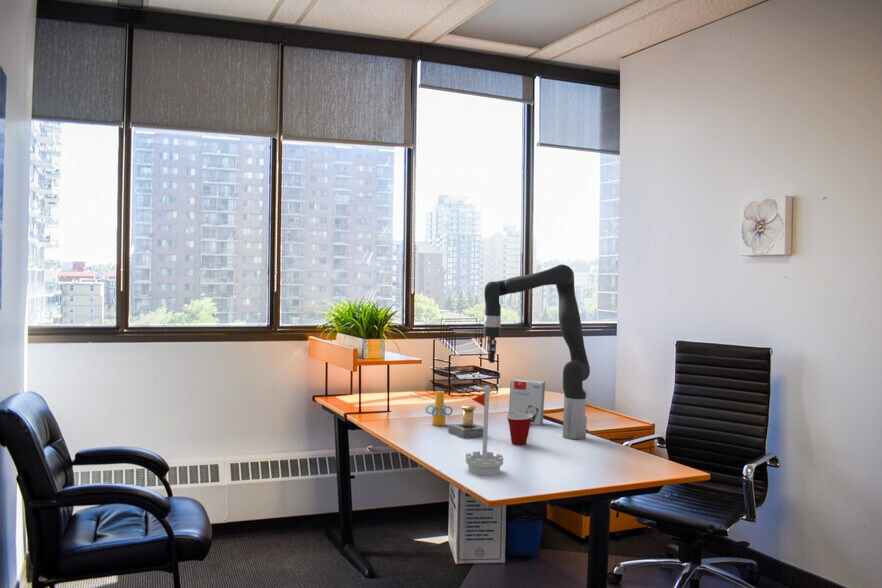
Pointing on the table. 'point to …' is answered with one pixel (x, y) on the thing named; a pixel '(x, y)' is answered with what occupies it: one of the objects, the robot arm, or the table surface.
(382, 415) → the table surface
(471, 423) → the gold capped peg
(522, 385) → the hard drive box
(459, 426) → the jig
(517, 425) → the plastic cup
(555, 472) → the table surface
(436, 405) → the tube with loops
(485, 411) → the flag stand
